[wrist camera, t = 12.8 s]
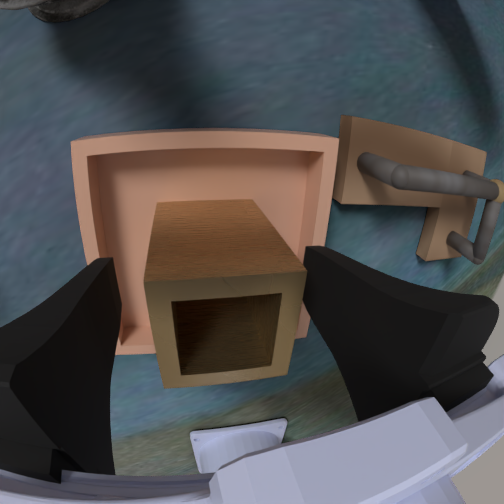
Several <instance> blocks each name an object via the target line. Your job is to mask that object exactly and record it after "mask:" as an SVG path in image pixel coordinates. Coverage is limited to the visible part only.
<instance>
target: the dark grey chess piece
mask: <svg viewBox="0 0 504 504" xmlns="http://www.w3.org/2000/svg"><path fill="white" fill-rule="evenodd" d="M108 1H109V0H0V9H8V10H19V9H23V8H28V9H29V10H30V12H31V13H32V14H33V15H34V16H36V17H37V18H39V19H41V20H43V21H48V22H63V21H70V20H73V19H76V18H79V17H82V16H85V15H87V14H88V13H90V12H92V11H94V10H96V9H98V8H100V7H101V6H102V5H104V4H105V3H107V2H108Z"/></svg>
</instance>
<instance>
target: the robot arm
mask: <svg viewBox="0 0 504 504" xmlns="http://www.w3.org/2000/svg"><path fill="white" fill-rule="evenodd" d="M303 266H304V267H305V268H306V270H307V276H306V282H305V287H304V293H303V298H302V300H303V303H304V305H305V307H306V310H307V312H308V314H309V315H310V317H311V319H312V320H313V322H314V324H315V326H316V327H317V329H318V331H319V332H320V334H321V336H322V337H323V339H324V341H325V342H326V344H327V346H328V347H329V349H330V351H331V352H332V354H333V356H334V358H335V360H336V362H337V365H338V367H339V369H340V371H341V374H342V376H343V378H344V381H345V384H346V386H347V389H348V391H349V394H350V397H351V400H352V403H353V406H354V409H355V412H356V415H357V418H358V421H359V422H357V423H355V424H352V425H348V426H345V427H342V428H339V429H336V430H332V431H329V432H326V433H322V434H318V435H315V436H311V437H307V438H303V439H299V440H295V441H291V442H286V443H282V444H281V442H282V439H283V436H284V433H285V430H286V426H287V420H286V419H285V418H281V419H276V420H271V421H265V422H260V423H254V424H247V425H241V426H234V427H226V428H218V429H209V430H198V431H192V432H191V433H190V438H191V443H192V447H193V450H194V454H195V458H196V462H197V466H198V469H199V472H200V473H202V474H191V475H175V476H120V475H115V469H114V462H113V453H112V442H111V428H110V384H111V375H112V369H113V363H114V357H115V352H116V347H117V342H118V336H119V331H120V326H121V313H122V301H121V296H120V292H119V287H118V282H117V277H116V271H115V266H114V260H113V257H107V258H97V259H95V260H94V261H92V262H91V263H90V264H89V265H87V266H86V267H85V268H84V269H83V270H82V271H80V272H79V273H78V274H77V275H76V276H75V277H73V278H72V279H71V280H70V281H69V282H68V283H66V284H65V285H64V286H63V287H61V288H60V289H59V290H58V291H56V292H55V293H54V294H53V295H52V296H50V297H49V298H48V299H46V300H45V301H44V302H42V303H41V304H39V305H38V306H36V307H35V308H33V309H32V310H30V311H29V312H27V313H26V314H24V315H22V316H20V317H19V318H17V319H15V320H13V321H12V322H10V323H8V324H6V325H5V326H3V327H0V504H466V503H465V501H464V500H463V498H462V496H461V495H460V493H459V491H458V490H457V488H456V486H455V485H454V483H453V482H452V480H451V478H452V477H453V476H455V475H456V474H457V473H459V472H460V471H461V470H463V469H464V468H465V467H467V466H468V465H469V464H470V463H471V462H473V461H474V460H475V459H477V458H478V457H479V456H480V455H482V454H483V453H484V452H485V451H486V450H487V449H489V448H490V447H491V446H492V445H493V444H494V443H495V442H496V441H498V440H499V439H500V438H501V437H502V436H503V435H504V354H503V355H502V356H500V357H499V358H497V359H496V360H495V361H493V362H492V363H491V364H490V365H489V366H488V367H486V366H485V364H484V363H483V361H484V360H485V359H486V356H485V355H484V354H483V352H482V351H481V350H482V349H483V347H484V345H485V344H486V342H487V340H488V338H489V336H490V335H491V333H492V331H493V329H494V327H495V325H496V323H497V320H498V316H499V307H498V305H497V304H496V303H495V302H494V301H493V300H491V299H490V298H489V297H487V296H483V295H471V294H460V293H453V292H447V291H441V290H437V289H432V288H428V287H424V286H420V285H416V284H413V283H410V282H407V281H404V280H401V279H398V278H395V277H392V276H390V275H387V274H384V273H382V272H380V271H377V270H375V269H373V268H370V267H368V266H366V265H364V264H362V263H360V262H357V261H355V260H353V259H351V258H349V257H347V256H345V255H343V254H341V253H338V252H336V251H334V250H332V249H329V248H327V247H324V246H320V245H318V246H306V247H305V253H304V260H303Z"/></svg>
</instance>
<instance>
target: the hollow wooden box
mask: <svg viewBox="0 0 504 504" xmlns="http://www.w3.org/2000/svg"><path fill="white" fill-rule="evenodd" d="M306 276H307V270H306V268H305V267H304V266H303V264H302V263H301V262H300V260H299V259H298V258H297V256H296V255H295V254H294V252H293V251H292V250H291V248H290V247H289V246H288V245H287V243H286V242H285V241H284V239H283V238H282V237H281V235H280V234H279V233H278V231H277V230H276V229H275V228H274V226H273V225H272V224H271V222H270V221H269V220H268V218H267V217H266V216H265V215H264V213H263V212H262V211H261V209H260V208H259V207H258V206H257V204H256V203H255V202H254V201H253V199H232V200H196V201H171V202H157V205H156V209H155V215H154V220H153V225H152V230H151V236H150V242H149V248H148V254H147V260H146V267H145V273H144V281H143V283H144V290H145V296H146V302H147V308H148V314H149V320H150V325H151V331H152V336H153V341H154V346H155V351H156V355H157V360H158V364H159V369H160V373H161V377H162V382H163V386H164V388H181V387H195V386H206V385H216V384H226V383H234V382H242V381H250V380H257V379H263V378H270V377H276V376H282V375H287V373H288V368H289V364H290V359H291V354H292V349H293V345H294V340H295V335H296V330H297V325H298V320H299V314H300V309H301V304H302V298H303V293H304V287H305V282H306Z"/></svg>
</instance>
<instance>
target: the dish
mask: <svg viewBox="0 0 504 504" xmlns="http://www.w3.org/2000/svg"><path fill="white" fill-rule="evenodd" d="M338 146H339V138H335V137H331V136H327V135H323V134H319V133H309V132H298V131H285V130H269V129H245V128H181V129H158V130H142V131H129V132H118V133H109V134H100V135H92V136H85V137H82V138H79V139H76V140H74V141H71V154H72V167H73V178H74V187H75V195H76V203H77V210H78V217H79V223H80V229H81V235H82V241H83V246H84V251H85V256H86V261H87V265H89V264H90V263H91V262H92V261H94V260H95V259H97V258H107V257H113V260H114V266H115V271H116V277H117V282H118V287H119V292H120V296H121V301H122V313H121V326H120V331H119V336H118V342H117V347H116V352H115V355H124V354H152V353H156V351H155V346H154V341H153V336H152V331H151V325H150V320H149V314H148V308H147V302H146V296H145V290H144V283H143V281H144V273H145V267H146V260H147V254H148V248H149V242H150V236H151V230H152V225H153V220H154V215H155V209H156V205H157V202H171V201H196V200H232V199H253V201H254V202H255V203H256V204H257V206H258V207H259V208H260V209H261V211H262V212H263V213H264V215H265V216H266V217H267V218H268V220H269V221H270V222H271V224H272V225H273V226H274V228H275V229H276V230H277V231H278V233H279V234H280V235H281V237H282V238H283V239H284V241H285V242H286V243H287V245H288V246H289V247H290V248H291V250H292V251H293V252H294V254H295V255H296V256H297V258H298V259H299V260H300V262H301V263H302V264H303V260H304V253H305V247H306V246H318V245H320V246H324V245H325V239H326V233H327V227H328V220H329V214H330V207H331V200H332V193H333V186H334V179H335V171H336V163H337V154H338ZM310 318H311V317H310V315H309V314H308V312H307V310H306V307H305V305H304V303H303V300H302V304H301V309H300V314H299V320H298V325H297V330H296V335H295V339H298V338H304V337H306V336H307V332H308V327H309V322H310Z"/></svg>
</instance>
